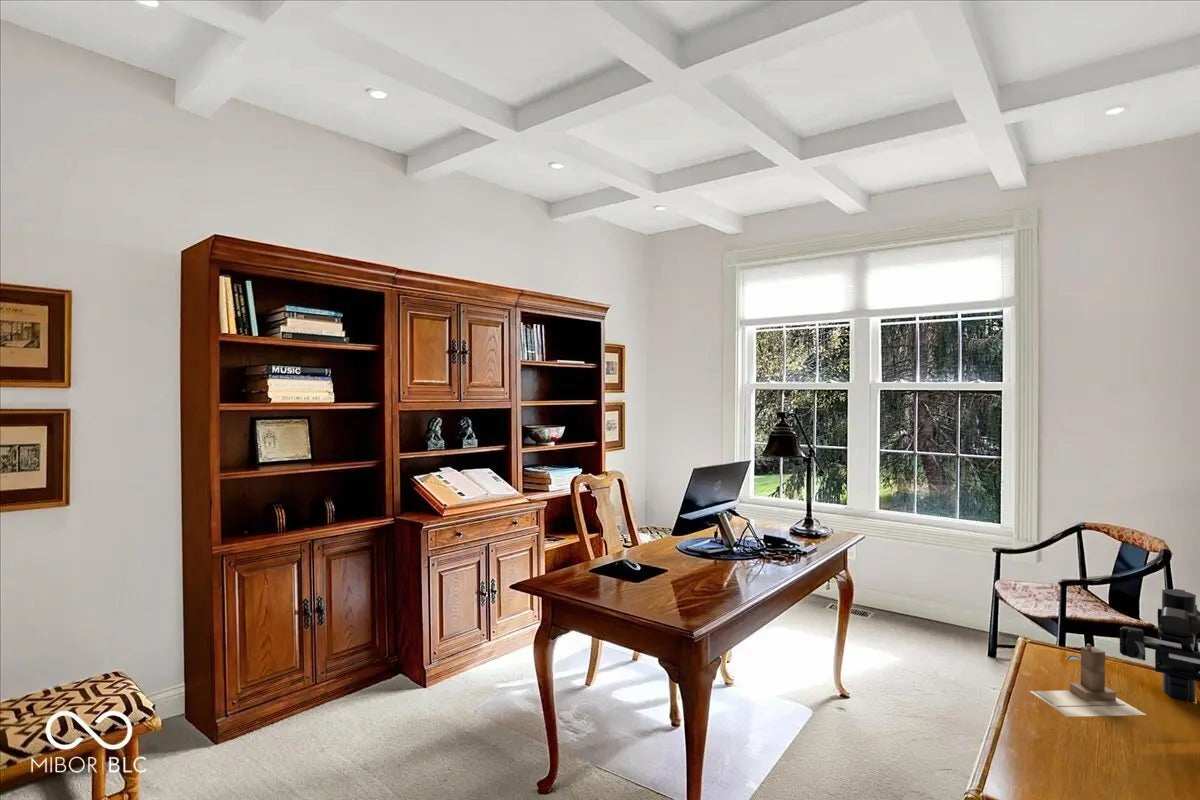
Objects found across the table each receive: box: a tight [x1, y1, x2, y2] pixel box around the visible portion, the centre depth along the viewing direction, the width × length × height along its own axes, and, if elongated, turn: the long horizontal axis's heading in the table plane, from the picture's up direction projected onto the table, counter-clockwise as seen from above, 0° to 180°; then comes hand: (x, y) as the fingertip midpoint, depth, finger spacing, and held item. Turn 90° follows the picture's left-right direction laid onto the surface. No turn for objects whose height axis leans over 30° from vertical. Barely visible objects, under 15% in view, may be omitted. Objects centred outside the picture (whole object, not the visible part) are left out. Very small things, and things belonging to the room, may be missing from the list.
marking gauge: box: [1069, 643, 1117, 701], centre depth 152 cm, size 7×5×12 cm
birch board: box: [1029, 689, 1147, 718], centre depth 149 cm, size 18×12×2 cm, turn 92°
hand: (1172, 664), depth 135 cm, fingers open, 9 cm apart
